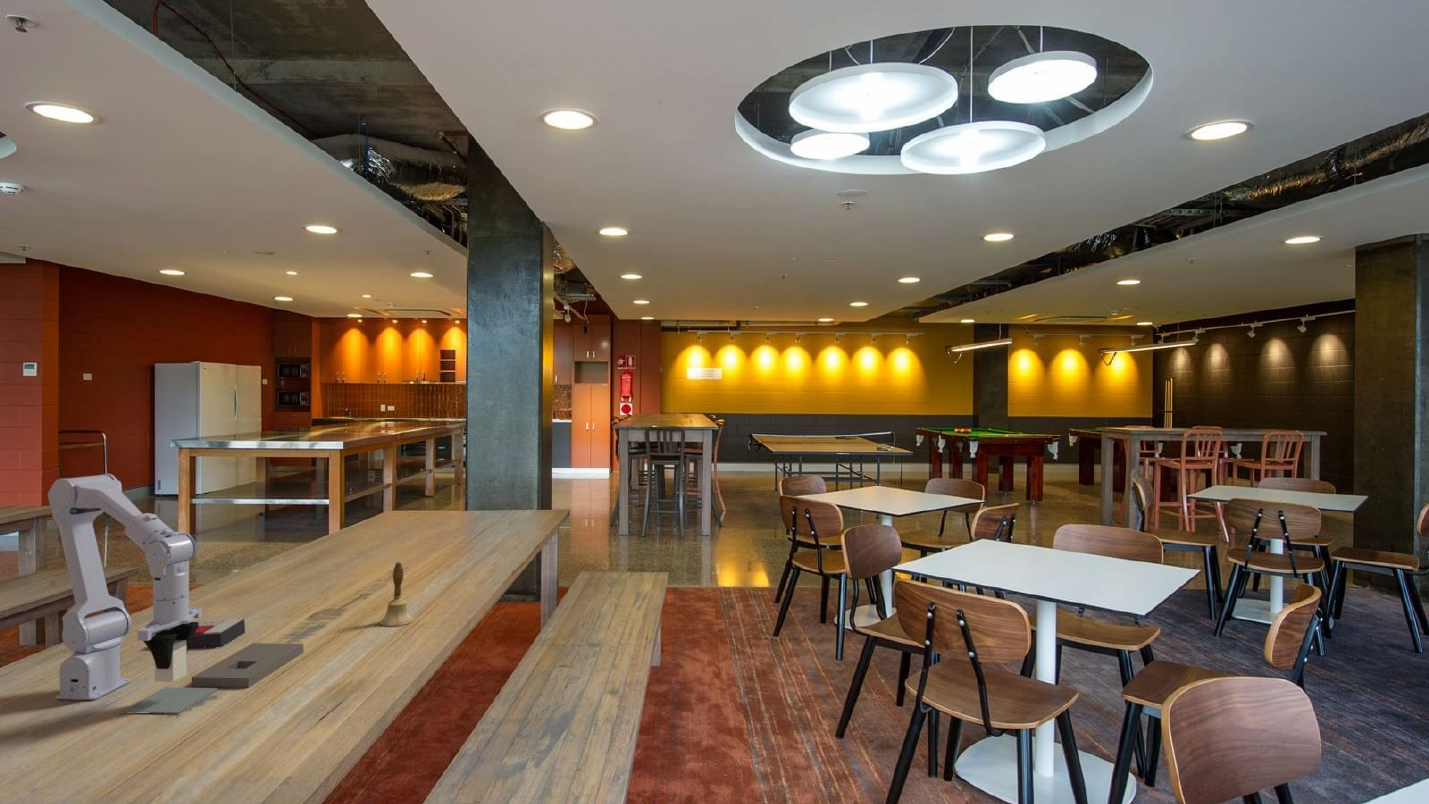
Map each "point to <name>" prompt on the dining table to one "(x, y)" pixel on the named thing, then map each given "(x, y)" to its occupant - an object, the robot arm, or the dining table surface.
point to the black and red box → (217, 632)
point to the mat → (170, 700)
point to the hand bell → (397, 603)
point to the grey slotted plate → (247, 665)
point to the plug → (174, 664)
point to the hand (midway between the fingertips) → (171, 664)
